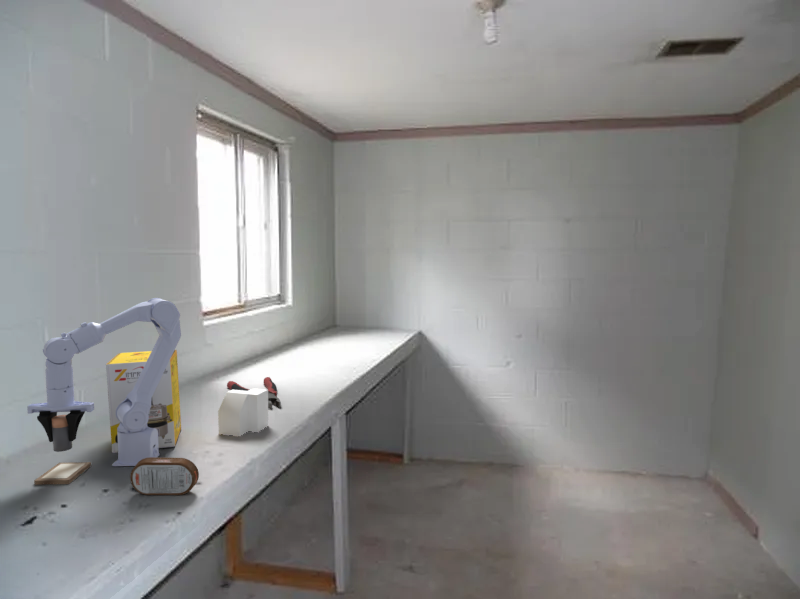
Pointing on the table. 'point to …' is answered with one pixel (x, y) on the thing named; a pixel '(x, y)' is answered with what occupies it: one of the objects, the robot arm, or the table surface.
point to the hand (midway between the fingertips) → (62, 440)
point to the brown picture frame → (62, 473)
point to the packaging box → (164, 399)
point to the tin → (164, 476)
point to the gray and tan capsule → (60, 434)
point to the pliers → (269, 385)
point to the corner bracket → (243, 412)
